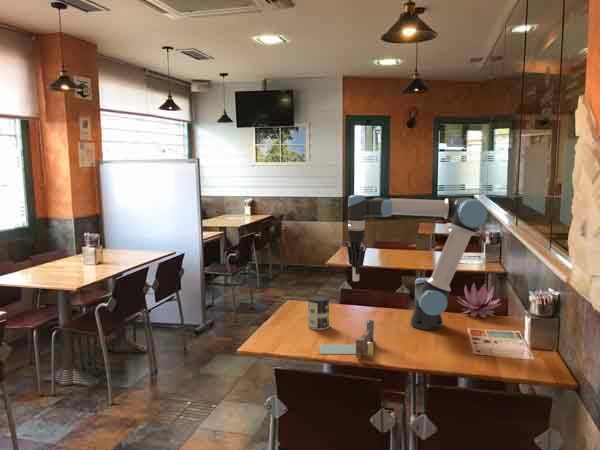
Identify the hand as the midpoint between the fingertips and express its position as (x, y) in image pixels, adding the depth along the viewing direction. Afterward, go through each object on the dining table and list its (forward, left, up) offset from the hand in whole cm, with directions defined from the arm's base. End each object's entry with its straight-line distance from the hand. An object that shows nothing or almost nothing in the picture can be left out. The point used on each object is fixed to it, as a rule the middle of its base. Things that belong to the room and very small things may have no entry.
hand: (355, 280), depth 216 cm
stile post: (-3, +31, -24) cm, 40 cm away
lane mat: (+7, +21, -24) cm, 33 cm away
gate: (-1, +24, -24) cm, 34 cm away
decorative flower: (-65, -26, -25) cm, 74 cm away
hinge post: (-5, +14, -24) cm, 29 cm away
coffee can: (+17, -8, -25) cm, 31 cm away
